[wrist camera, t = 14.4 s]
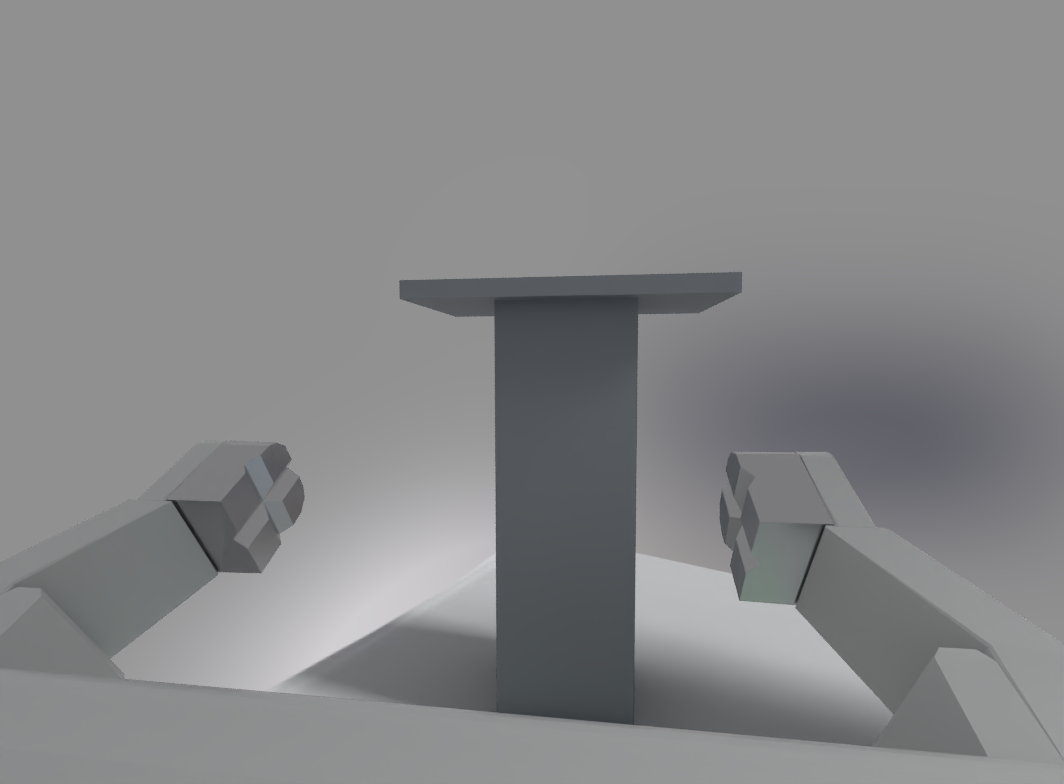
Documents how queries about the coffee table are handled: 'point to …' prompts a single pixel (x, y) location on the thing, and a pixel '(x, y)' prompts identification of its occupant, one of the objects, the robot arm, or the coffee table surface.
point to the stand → (567, 475)
